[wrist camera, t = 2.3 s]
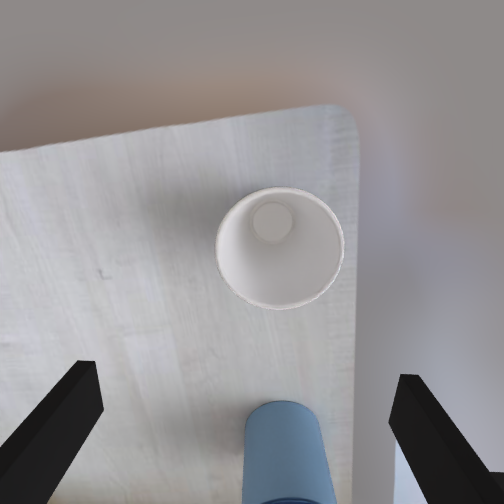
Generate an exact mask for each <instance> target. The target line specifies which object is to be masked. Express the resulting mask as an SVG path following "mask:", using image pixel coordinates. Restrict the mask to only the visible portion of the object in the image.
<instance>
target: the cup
mask: <svg viewBox="0 0 504 504" xmlns="http://www.w3.org/2000/svg"><path fill="white" fill-rule="evenodd" d="M344 250H345V247H344V236H343V232H342V229H341V225H340V223H339V221H338V220H337V218H336V216H335V214H334V213H333V211H332V210H331V209H330V208H329V207H328V206H327V205H326V203H324V202H323V201H322V200H320V199H319V198H318V197H316V196H315V195H313V194H310V193H308V192H306V191H304V190H301V189H296V188H292V187H271V188H265V189H261V190H259V191H256V192H253V193H251V194H249V195H247V196H246V197H244V198H243V199H241V200H240V201H238V202H237V203H236V204H235V205H234V206H233V207H232V208H231V209H230V210H229V211H228V213H227V214H226V216H225V217H224V219H223V220H222V222H221V224H220V227H219V229H218V231H217V235H216V241H215V259H216V264H217V268H218V270H219V273H220V275H221V277H222V279H223V281H224V282H225V283H226V285H227V286H228V287H229V289H230V290H231V291H232V292H234V293H235V294H236V295H237V296H238V297H239V298H241V299H243V300H244V301H246V302H247V303H250V304H252V305H255V306H257V307H260V308H265V309H270V310H285V309H292V308H296V307H299V306H302V305H305V304H307V303H309V302H311V301H313V300H314V299H316V298H317V297H319V296H320V295H321V294H322V293H324V292H325V291H326V290H327V289H328V287H329V286H330V285H331V284H332V283H333V281H334V280H335V278H336V276H337V275H338V273H339V271H340V268H341V265H342V262H343V257H344Z"/></svg>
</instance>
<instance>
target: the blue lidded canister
mask: <svg viewBox="0 0 504 504" xmlns="http://www.w3.org/2000/svg"><path fill="white" fill-rule="evenodd" d="M242 504H337V501H336V497H335V493H334V488H333V484H332V479H331V475H330V471H329V466H328V462H327V457H326V453H325V449H324V444H323V440H322V435H321V431H320V427H319V423H318V420H317V418H316V416H315V415H314V414H313V413H312V412H311V411H310V410H309V409H308V408H306V407H304V406H303V405H300V404H298V403H294V402H289V401H276V402H271V403H268V404H265V405H263V406H261V407H259V408H257V409H256V410H255V411H254V412H253V413H252V414H251V415H250V416H249V418H248V420H247V422H246V426H245V444H244V465H243V486H242Z"/></svg>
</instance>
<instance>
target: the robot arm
mask: <svg viewBox="0 0 504 504" xmlns="http://www.w3.org/2000/svg"><path fill="white" fill-rule="evenodd" d="M103 411H104V407H103V402H102V396H101V391H100V385H99V380H98V374H97V369H96V363H95V361H80V360H77V362H76V363H75V364H74V365H73V366H72V367H71V368H70V369H69V371H68V372H67V373H66V374H65V375H64V376H63V377H62V378H61V380H60V381H59V382H58V383H57V384H56V385H55V386H54V387H53V388H52V390H51V391H50V392H49V393H48V394H47V395H46V396H45V397H44V399H43V400H42V401H41V402H40V403H39V404H38V405H37V406H36V408H35V409H34V410H33V411H32V412H31V413H30V414H29V415H28V417H27V418H26V419H25V420H24V421H23V422H22V423H21V424H20V425H19V427H18V428H17V429H16V430H15V431H14V432H13V433H12V434H11V436H10V437H9V438H8V439H7V440H6V441H5V442H4V443H3V445H2V446H1V447H0V504H47V502H48V500H49V499H50V497H51V496H52V494H53V492H54V491H55V489H56V487H57V486H58V484H59V482H60V481H61V479H62V478H63V476H64V474H65V473H66V471H67V469H68V468H69V466H70V465H71V463H72V461H73V460H74V458H75V456H76V455H77V453H78V451H79V450H80V448H81V447H82V445H83V443H84V442H85V440H86V438H87V437H88V435H89V434H90V432H91V430H92V429H93V427H94V425H95V424H96V422H97V420H98V419H99V417H100V416H101V414H102V412H103ZM389 425H390V427H391V429H392V431H393V433H394V435H395V437H396V439H397V441H398V443H399V445H400V447H401V450H402V452H403V454H404V456H405V458H406V460H407V462H408V464H409V466H410V468H411V470H412V472H413V474H414V476H415V478H416V480H417V482H418V484H419V487H420V489H421V491H422V493H423V495H424V497H425V499H426V501H427V503H428V504H504V473H503V472H489V470H488V469H487V468H486V466H485V465H484V464H483V462H482V461H481V460H480V458H479V457H478V455H477V454H476V453H475V451H474V450H473V449H472V447H471V446H470V444H469V443H468V442H467V441H466V439H465V438H464V436H463V435H462V433H461V432H460V431H459V429H458V428H457V427H456V425H455V424H454V423H453V421H452V420H451V419H450V417H449V416H448V414H447V413H446V412H445V410H444V409H443V408H442V406H441V405H440V403H439V402H438V401H437V399H436V398H435V397H434V395H433V394H432V392H431V391H430V390H429V388H428V387H427V386H426V384H425V383H424V382H423V380H422V379H421V377H420V376H419V375H412V374H400V378H399V382H398V386H397V390H396V394H395V398H394V402H393V406H392V411H391V414H390V418H389Z"/></svg>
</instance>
